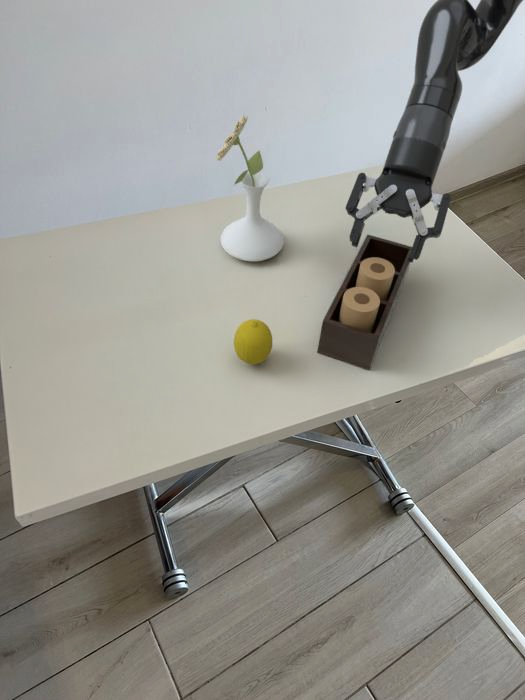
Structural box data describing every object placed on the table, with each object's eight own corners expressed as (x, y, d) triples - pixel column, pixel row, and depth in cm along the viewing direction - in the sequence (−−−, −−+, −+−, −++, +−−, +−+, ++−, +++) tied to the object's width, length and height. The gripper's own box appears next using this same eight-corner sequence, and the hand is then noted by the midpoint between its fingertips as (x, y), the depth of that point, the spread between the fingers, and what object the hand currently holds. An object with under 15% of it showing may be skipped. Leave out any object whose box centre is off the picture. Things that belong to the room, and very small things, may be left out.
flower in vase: (248, 221, 102) (252, 87, 83) (295, 246, 97) (310, 110, 79) (201, 252, 95) (193, 113, 77) (249, 280, 90) (253, 140, 72)
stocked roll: (352, 323, 84) (362, 281, 77) (375, 343, 81) (388, 302, 74) (327, 336, 81) (335, 295, 75) (350, 357, 79) (361, 316, 72)
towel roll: (367, 294, 88) (377, 252, 82) (389, 312, 85) (402, 270, 79) (344, 306, 86) (353, 264, 79) (366, 325, 83) (377, 283, 77)
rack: (360, 265, 94) (367, 234, 89) (405, 279, 93) (415, 247, 87) (316, 352, 80) (322, 320, 75) (369, 370, 78) (378, 339, 73)
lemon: (241, 379, 76) (242, 341, 70) (228, 352, 79) (228, 313, 74) (276, 369, 78) (280, 331, 72) (262, 343, 81) (265, 304, 75)
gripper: (464, 166, 79) (428, 270, 80) (371, 145, 83) (338, 245, 84) (470, 148, 72) (430, 263, 73) (369, 125, 75) (332, 235, 77)
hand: (381, 253), depth 79 cm, fingers open, 8 cm apart
